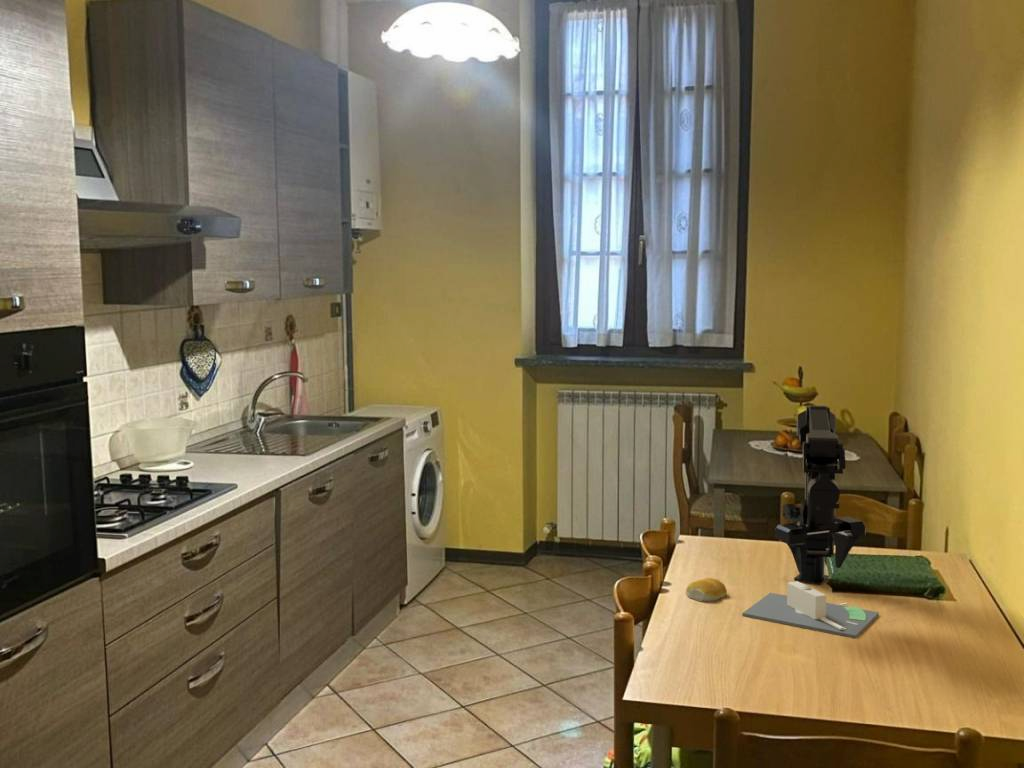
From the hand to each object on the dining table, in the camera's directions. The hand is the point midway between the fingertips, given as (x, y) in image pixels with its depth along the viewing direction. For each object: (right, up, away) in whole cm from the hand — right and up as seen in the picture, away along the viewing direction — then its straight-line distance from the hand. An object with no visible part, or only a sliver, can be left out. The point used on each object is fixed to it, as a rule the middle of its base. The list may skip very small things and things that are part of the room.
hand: (819, 570), depth 211 cm
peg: (0, -10, +2) cm, 10 cm away
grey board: (0, -10, +6) cm, 12 cm away
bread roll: (-20, -10, +19) cm, 29 cm away
